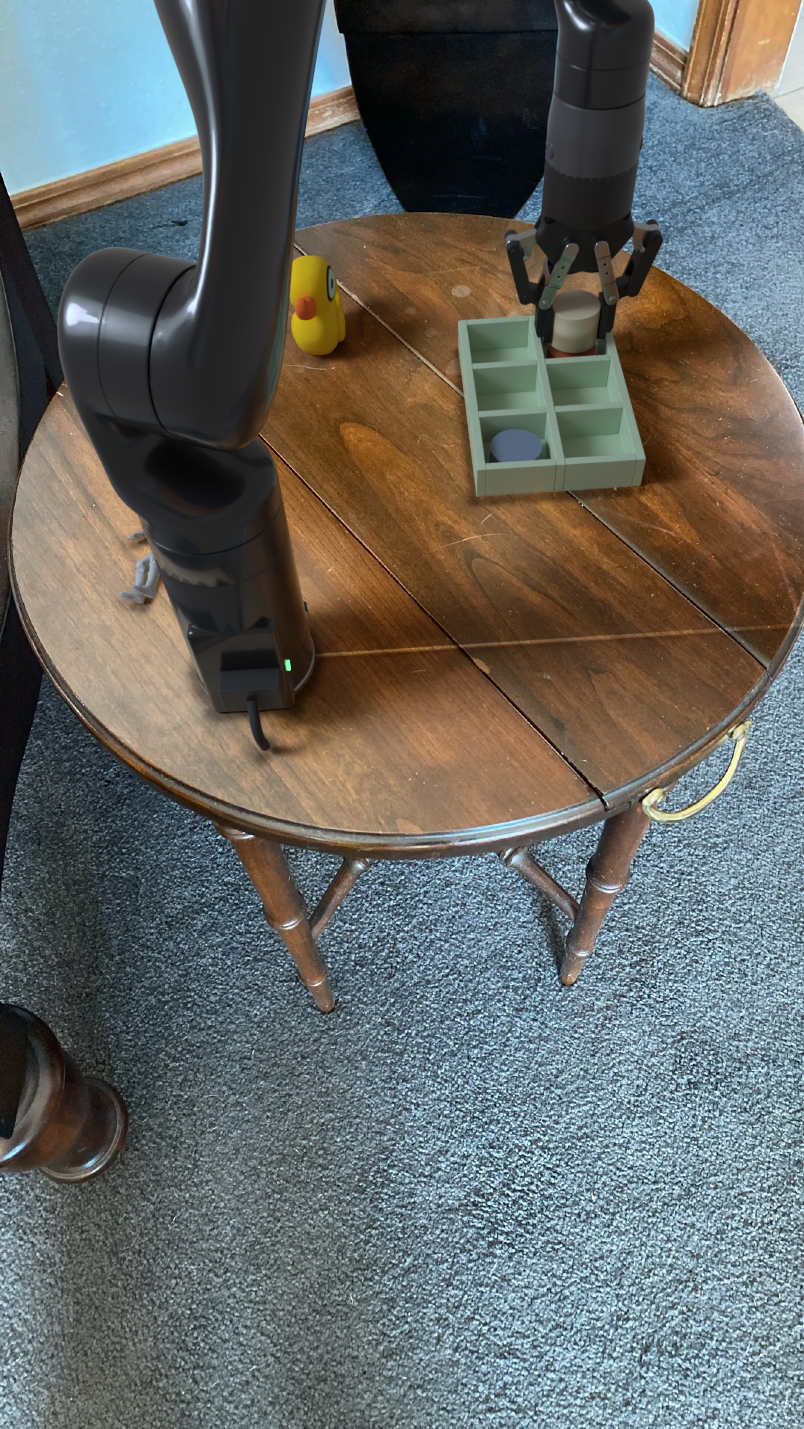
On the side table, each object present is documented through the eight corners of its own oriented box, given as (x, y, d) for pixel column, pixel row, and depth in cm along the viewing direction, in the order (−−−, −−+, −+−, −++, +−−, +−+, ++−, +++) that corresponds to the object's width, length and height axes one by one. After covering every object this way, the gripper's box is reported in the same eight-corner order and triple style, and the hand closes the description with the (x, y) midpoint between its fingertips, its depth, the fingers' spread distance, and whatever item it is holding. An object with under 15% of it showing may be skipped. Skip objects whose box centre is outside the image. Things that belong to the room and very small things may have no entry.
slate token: (543, 479, 86) (545, 462, 84) (491, 483, 86) (492, 465, 84) (537, 444, 88) (539, 427, 87) (487, 447, 88) (487, 430, 87)
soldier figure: (103, 604, 82) (134, 477, 85) (156, 622, 85) (184, 499, 88) (139, 584, 76) (172, 448, 79) (195, 605, 79) (224, 473, 82)
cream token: (600, 351, 91) (605, 317, 88) (551, 354, 91) (554, 320, 88) (592, 321, 94) (597, 287, 91) (544, 325, 94) (547, 291, 91)
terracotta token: (596, 376, 93) (599, 358, 92) (549, 380, 93) (550, 362, 92) (589, 347, 96) (591, 329, 94) (543, 350, 96) (544, 332, 94)
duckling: (339, 384, 95) (328, 291, 87) (286, 383, 96) (269, 290, 88) (354, 314, 102) (345, 221, 93) (304, 313, 102) (290, 221, 94)
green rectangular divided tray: (601, 342, 97) (606, 309, 94) (639, 490, 85) (646, 458, 82) (458, 352, 97) (458, 319, 94) (476, 501, 86) (477, 470, 83)
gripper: (672, 120, 80) (640, 307, 94) (499, 132, 80) (493, 317, 94) (691, 167, 76) (654, 355, 90) (509, 180, 76) (501, 366, 90)
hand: (572, 335), depth 92 cm, fingers closed on cream token, 4 cm apart
